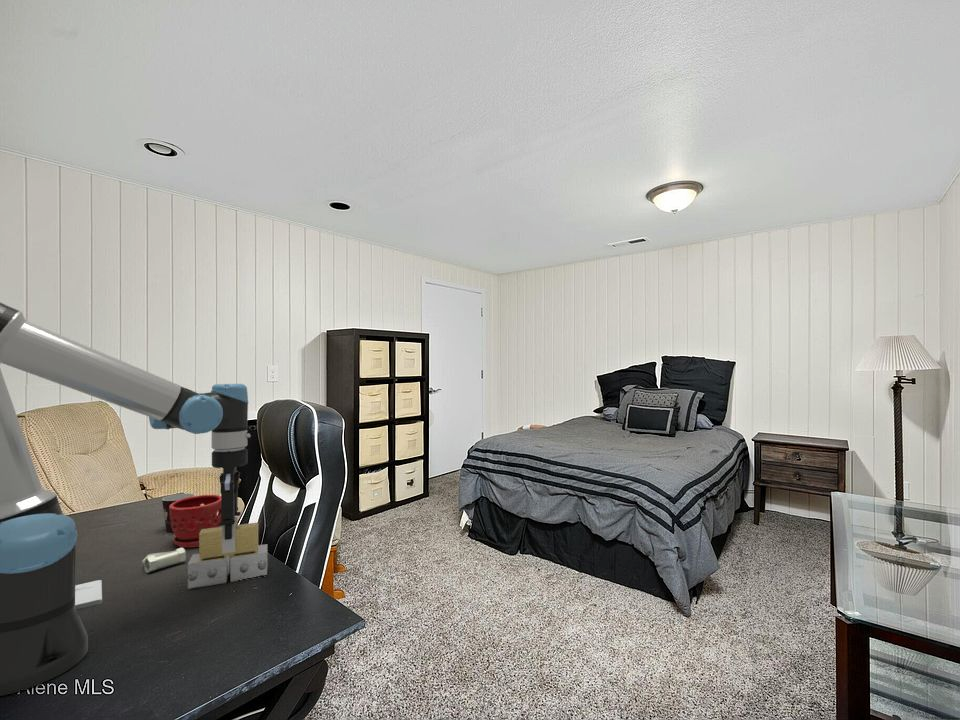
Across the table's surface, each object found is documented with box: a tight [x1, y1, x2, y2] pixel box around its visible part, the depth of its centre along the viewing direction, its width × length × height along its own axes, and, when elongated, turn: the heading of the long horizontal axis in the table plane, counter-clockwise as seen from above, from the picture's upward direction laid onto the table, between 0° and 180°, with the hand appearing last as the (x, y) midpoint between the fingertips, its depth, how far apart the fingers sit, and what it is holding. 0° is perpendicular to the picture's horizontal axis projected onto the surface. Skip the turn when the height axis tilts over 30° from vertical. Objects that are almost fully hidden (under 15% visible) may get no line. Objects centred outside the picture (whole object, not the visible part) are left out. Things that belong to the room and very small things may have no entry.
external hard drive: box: [75, 579, 103, 611], centre depth 100 cm, size 2×8×12 cm
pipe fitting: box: [141, 547, 187, 574], centre depth 118 cm, size 8×4×7 cm
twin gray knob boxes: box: [187, 543, 268, 590], centre depth 110 cm, size 7×16×6 cm, turn 113°
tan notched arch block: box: [198, 522, 259, 560], centre depth 110 cm, size 3×12×11 cm, turn 113°
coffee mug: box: [161, 492, 196, 534], centre depth 144 cm, size 12×9×10 cm
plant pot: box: [169, 494, 221, 549], centre depth 134 cm, size 13×13×12 cm
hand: (229, 548), depth 110 cm, fingers open, 4 cm apart
